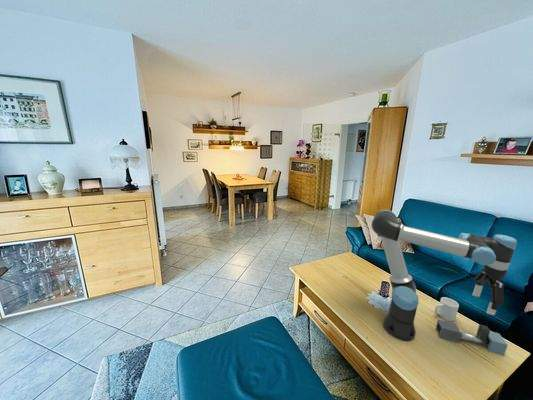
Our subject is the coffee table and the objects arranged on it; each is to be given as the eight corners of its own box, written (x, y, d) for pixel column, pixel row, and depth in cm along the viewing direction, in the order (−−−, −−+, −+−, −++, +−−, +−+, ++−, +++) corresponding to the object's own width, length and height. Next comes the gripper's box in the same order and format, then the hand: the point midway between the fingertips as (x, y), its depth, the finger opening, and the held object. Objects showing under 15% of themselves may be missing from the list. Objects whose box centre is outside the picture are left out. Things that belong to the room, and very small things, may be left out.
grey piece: (456, 338, 114) (460, 323, 112) (453, 333, 117) (457, 319, 115) (493, 348, 109) (498, 332, 107) (489, 342, 112) (494, 327, 110)
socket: (488, 351, 109) (491, 340, 107) (480, 339, 115) (484, 329, 113) (504, 355, 107) (507, 344, 105) (495, 343, 113) (498, 333, 111)
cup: (458, 321, 127) (462, 306, 124) (439, 322, 126) (443, 307, 124) (446, 311, 135) (450, 297, 132) (428, 311, 134) (431, 297, 132)
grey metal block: (439, 338, 116) (442, 328, 114) (435, 328, 121) (437, 319, 120) (458, 342, 113) (461, 332, 111) (453, 333, 119) (455, 323, 117)
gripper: (524, 283, 91) (508, 325, 97) (491, 256, 114) (479, 291, 119) (501, 279, 94) (486, 319, 99) (473, 253, 116) (462, 287, 122)
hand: (482, 304), depth 109 cm, fingers open, 13 cm apart
